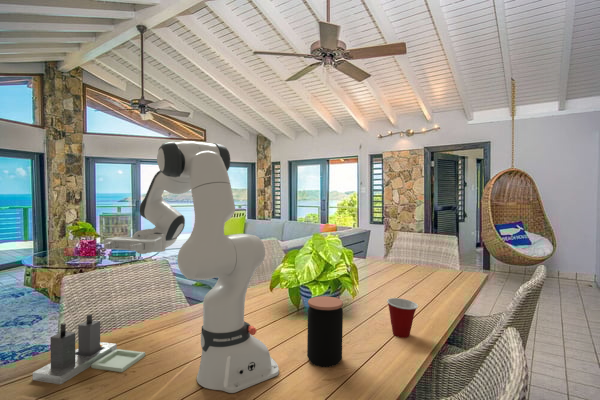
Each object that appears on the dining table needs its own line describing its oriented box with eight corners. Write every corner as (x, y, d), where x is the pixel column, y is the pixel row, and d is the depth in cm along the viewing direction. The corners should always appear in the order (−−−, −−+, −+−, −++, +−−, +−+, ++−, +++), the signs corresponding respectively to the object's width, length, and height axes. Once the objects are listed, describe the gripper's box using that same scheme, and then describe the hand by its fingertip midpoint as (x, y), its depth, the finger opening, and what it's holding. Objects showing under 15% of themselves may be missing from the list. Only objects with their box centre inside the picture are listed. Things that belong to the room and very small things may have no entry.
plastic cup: (419, 342, 120) (420, 307, 120) (387, 339, 122) (387, 305, 122) (415, 330, 131) (416, 298, 130) (385, 327, 133) (386, 296, 132)
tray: (116, 353, 109) (116, 348, 109) (145, 357, 107) (145, 352, 107) (91, 369, 99) (91, 364, 99) (122, 373, 97) (122, 368, 97)
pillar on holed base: (92, 348, 112) (92, 305, 112) (116, 351, 110) (116, 307, 110) (32, 381, 93) (32, 329, 92) (60, 386, 91) (60, 332, 91)
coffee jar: (339, 351, 112) (340, 296, 112) (344, 368, 102) (345, 307, 101) (306, 351, 112) (307, 296, 112) (308, 368, 101) (308, 307, 101)
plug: (89, 355, 108) (89, 312, 108) (100, 356, 107) (100, 313, 107) (78, 361, 104) (78, 316, 104) (89, 363, 103) (89, 318, 103)
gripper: (120, 232, 132) (91, 236, 119) (169, 234, 128) (144, 239, 114) (120, 248, 132) (91, 255, 119) (169, 251, 128) (144, 258, 114)
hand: (117, 247), depth 117 cm, fingers open, 8 cm apart
